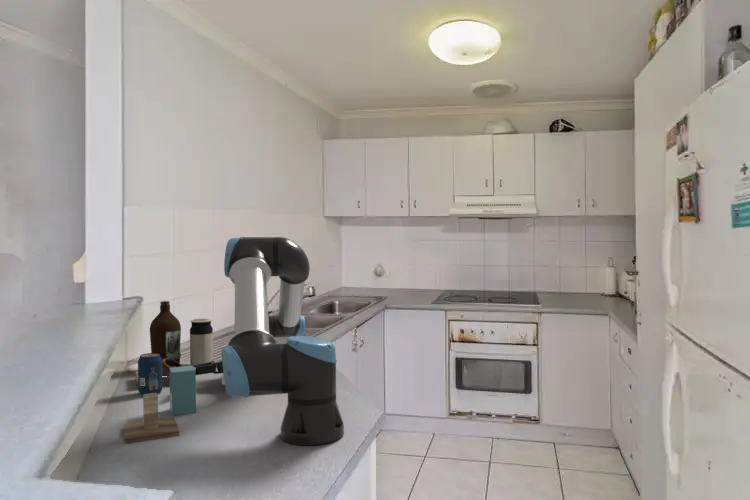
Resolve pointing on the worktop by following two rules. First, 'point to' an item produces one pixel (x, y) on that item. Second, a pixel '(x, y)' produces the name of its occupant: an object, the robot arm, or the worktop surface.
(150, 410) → the brown square base plate
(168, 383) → the mug frame
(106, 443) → the worktop surface
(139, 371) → the soda can
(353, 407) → the worktop surface
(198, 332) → the travel mug
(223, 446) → the worktop surface
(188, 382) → the tall teal pillar
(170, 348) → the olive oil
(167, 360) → the pottery mug
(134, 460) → the worktop surface
